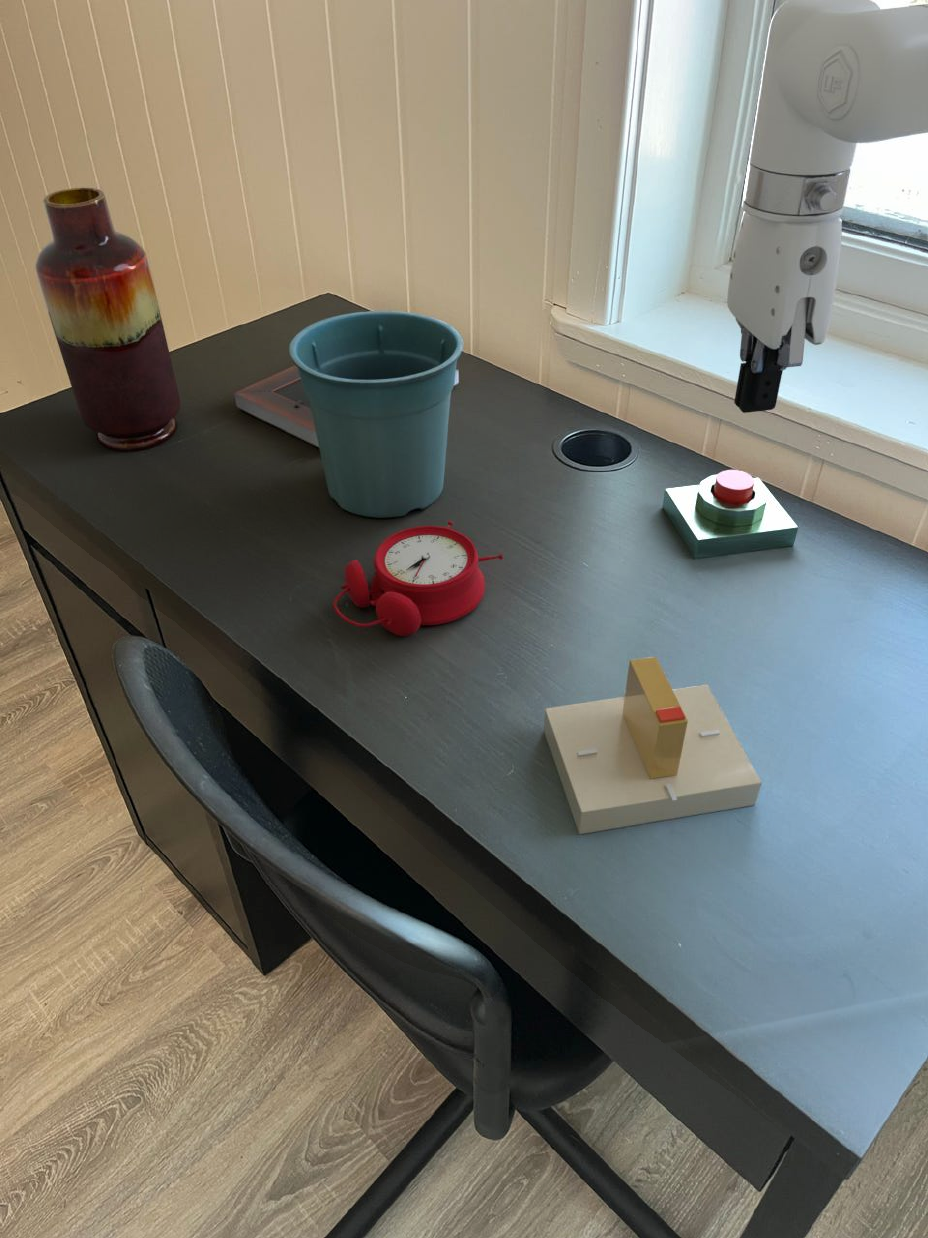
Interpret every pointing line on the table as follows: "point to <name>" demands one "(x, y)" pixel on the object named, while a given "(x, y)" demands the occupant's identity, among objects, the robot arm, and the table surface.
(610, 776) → the dial base plate
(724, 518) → the button block
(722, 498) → the button
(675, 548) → the table surface
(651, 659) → the tan block
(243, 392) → the picture frame
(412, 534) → the alarm clock
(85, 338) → the vase
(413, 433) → the flower pot
